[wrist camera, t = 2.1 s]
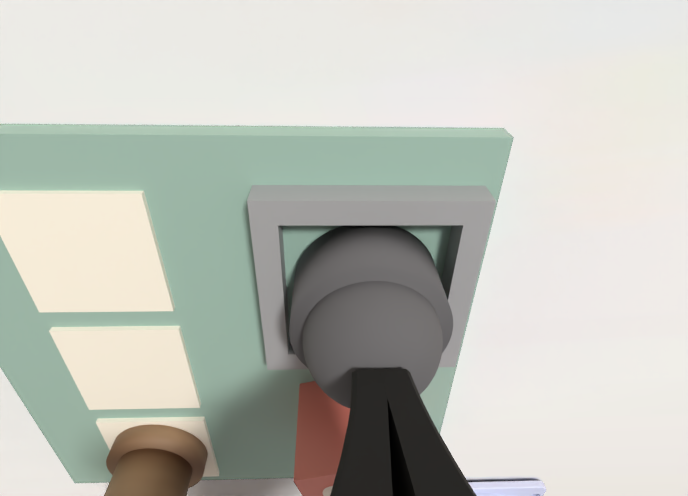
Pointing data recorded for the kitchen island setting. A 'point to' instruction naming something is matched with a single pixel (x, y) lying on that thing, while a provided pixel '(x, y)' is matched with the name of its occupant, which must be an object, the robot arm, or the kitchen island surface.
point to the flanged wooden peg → (155, 462)
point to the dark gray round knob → (368, 307)
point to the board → (209, 270)
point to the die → (318, 440)
